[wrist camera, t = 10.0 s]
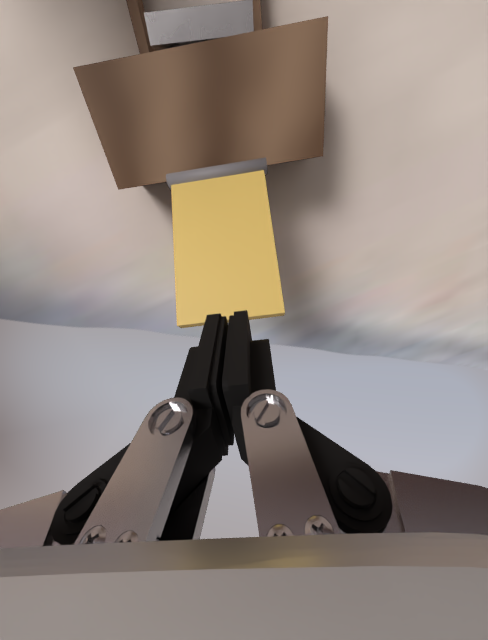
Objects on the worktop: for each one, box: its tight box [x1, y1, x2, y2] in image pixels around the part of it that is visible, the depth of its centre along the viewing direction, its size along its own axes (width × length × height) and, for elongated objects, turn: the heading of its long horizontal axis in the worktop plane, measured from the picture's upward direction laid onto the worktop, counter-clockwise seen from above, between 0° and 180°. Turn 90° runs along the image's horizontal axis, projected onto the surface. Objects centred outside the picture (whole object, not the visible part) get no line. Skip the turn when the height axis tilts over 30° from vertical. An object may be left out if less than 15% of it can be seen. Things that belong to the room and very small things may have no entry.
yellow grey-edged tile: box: [166, 157, 285, 328], centre depth 14 cm, size 6×10×1 cm
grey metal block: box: [144, 0, 254, 51], centre depth 17 cm, size 11×6×4 cm, turn 5°
